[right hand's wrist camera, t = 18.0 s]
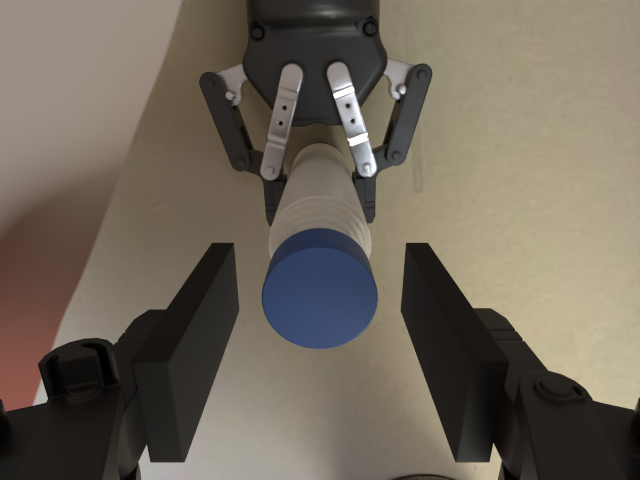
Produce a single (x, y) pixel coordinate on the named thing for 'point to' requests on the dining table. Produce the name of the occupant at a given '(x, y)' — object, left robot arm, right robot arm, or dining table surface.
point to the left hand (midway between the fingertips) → (320, 228)
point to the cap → (319, 289)
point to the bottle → (319, 199)
